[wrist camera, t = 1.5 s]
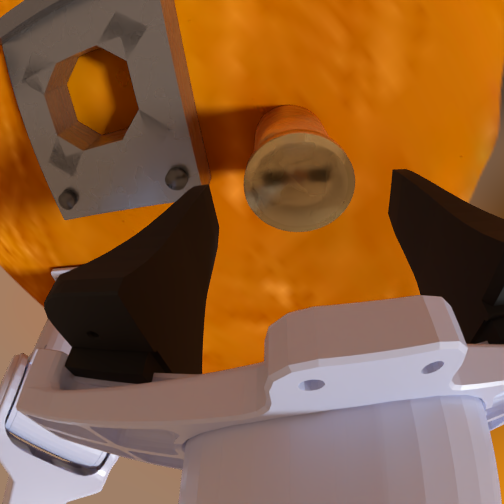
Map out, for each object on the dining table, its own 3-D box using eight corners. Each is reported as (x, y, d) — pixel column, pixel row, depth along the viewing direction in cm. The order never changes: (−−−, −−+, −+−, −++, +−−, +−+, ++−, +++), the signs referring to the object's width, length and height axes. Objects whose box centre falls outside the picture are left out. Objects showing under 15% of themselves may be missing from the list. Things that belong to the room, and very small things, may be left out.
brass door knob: (330, 169, 18) (352, 227, 14) (255, 176, 19) (252, 236, 14) (327, 97, 15) (355, 130, 11) (244, 104, 16) (235, 140, 11)
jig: (211, 177, 19) (200, 212, 16) (80, 200, 20) (54, 233, 17) (166, -42, 10) (139, -58, 7) (23, 23, 11) (-18, 32, 8)
